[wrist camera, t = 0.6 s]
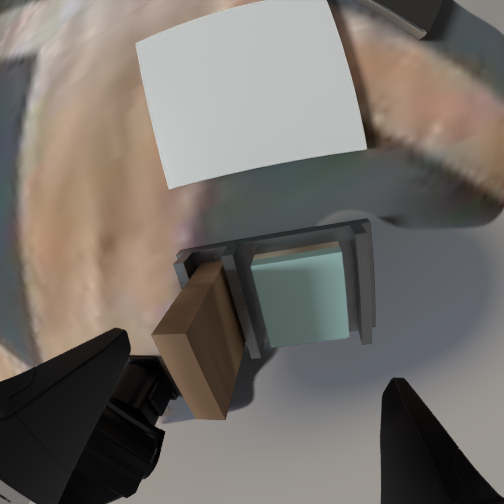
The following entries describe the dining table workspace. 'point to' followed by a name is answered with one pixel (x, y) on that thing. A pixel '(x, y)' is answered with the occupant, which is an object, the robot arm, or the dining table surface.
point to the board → (249, 90)
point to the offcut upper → (302, 297)
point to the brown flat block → (203, 342)
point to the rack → (242, 251)
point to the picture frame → (406, 13)
